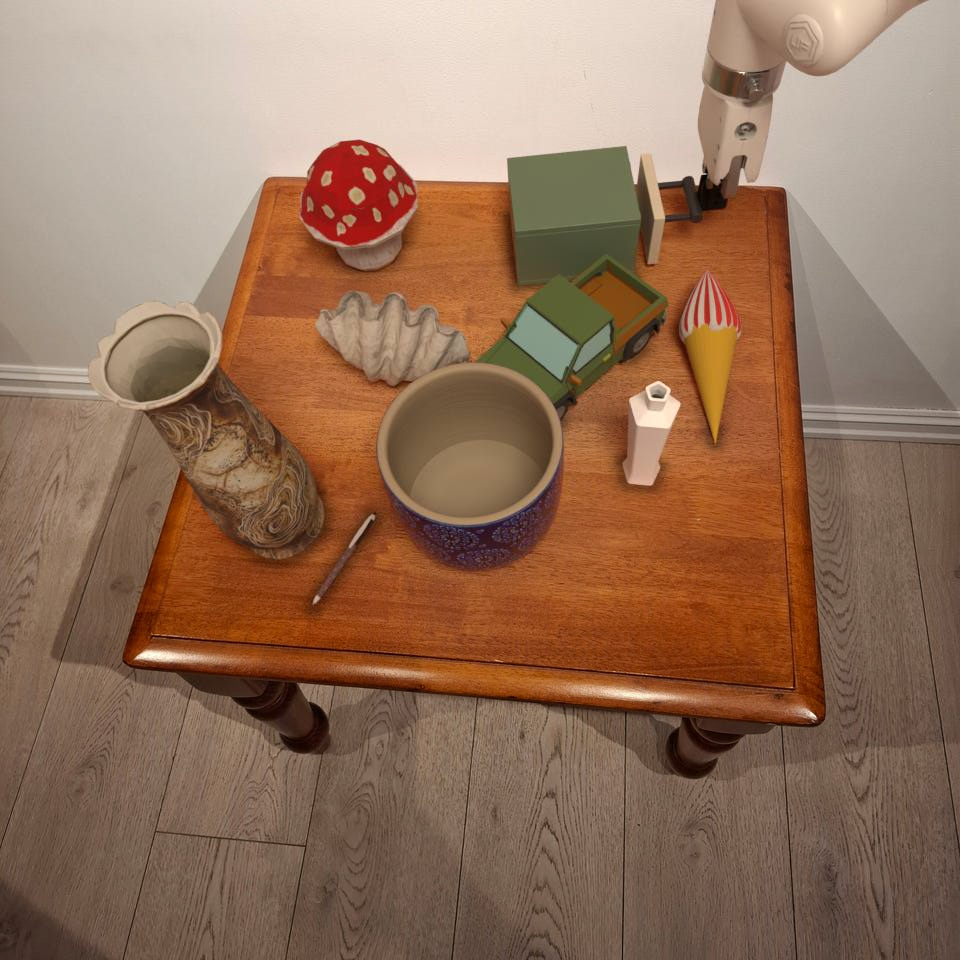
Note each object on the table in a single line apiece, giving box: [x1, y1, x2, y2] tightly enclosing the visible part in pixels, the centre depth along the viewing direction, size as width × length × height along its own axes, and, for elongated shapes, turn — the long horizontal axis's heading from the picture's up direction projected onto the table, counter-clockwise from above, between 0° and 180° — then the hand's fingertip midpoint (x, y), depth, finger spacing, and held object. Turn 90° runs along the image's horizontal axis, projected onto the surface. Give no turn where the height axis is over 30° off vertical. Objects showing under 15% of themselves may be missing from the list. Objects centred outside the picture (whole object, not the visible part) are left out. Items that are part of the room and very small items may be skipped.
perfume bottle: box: [621, 380, 681, 487], centre depth 80 cm, size 5×4×15 cm
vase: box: [87, 300, 326, 560], centre depth 74 cm, size 10×11×30 cm
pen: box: [312, 511, 377, 605], centre depth 84 cm, size 11×1×1 cm, turn 150°
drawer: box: [630, 153, 704, 265], centre depth 97 cm, size 17×10×7 cm, turn 94°
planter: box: [375, 361, 565, 572], centre depth 79 cm, size 16×17×15 cm
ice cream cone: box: [678, 268, 743, 445], centre depth 90 cm, size 6×6×20 cm
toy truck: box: [474, 254, 670, 421], centre depth 89 cm, size 11×21×10 cm, turn 133°
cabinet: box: [506, 145, 641, 287], centre depth 97 cm, size 14×11×9 cm
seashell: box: [314, 290, 471, 387], centre depth 90 cm, size 10×15×10 cm
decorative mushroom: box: [298, 139, 419, 272], centre depth 96 cm, size 14×14×15 cm
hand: (710, 204), depth 97 cm, fingers closed
